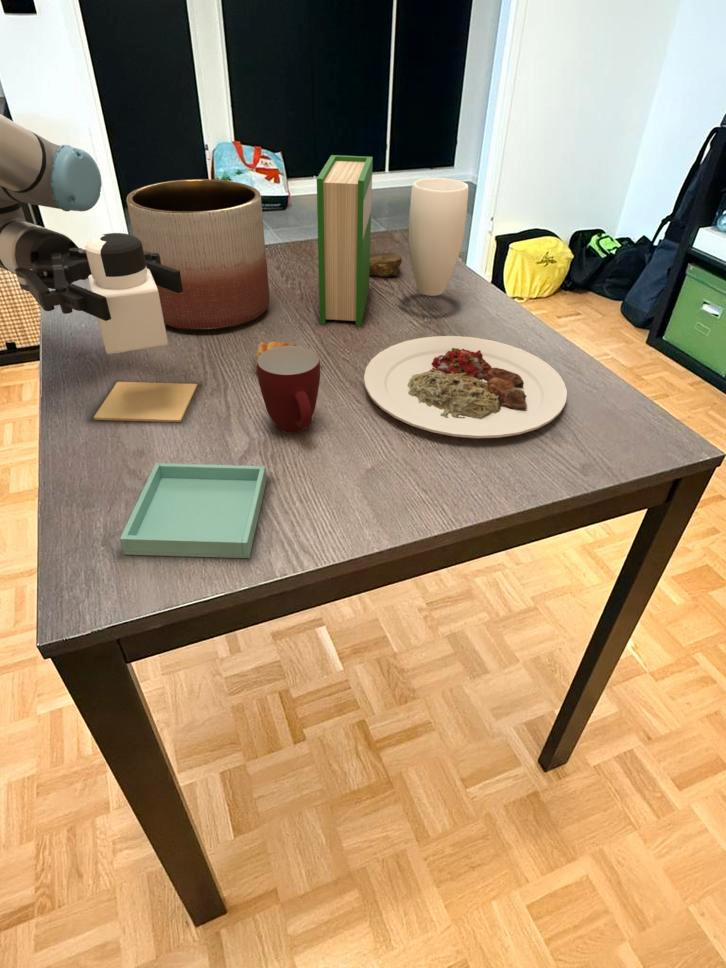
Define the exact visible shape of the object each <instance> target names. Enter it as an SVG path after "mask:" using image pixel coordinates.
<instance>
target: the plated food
mask: <svg viewBox="0 0 726 968" xmlns="http://www.w3.org/2000/svg"><path fill="white" fill-rule="evenodd" d="M363 381H364V386H365V390H366V392H367V394H368V396H369V397H370V399H371V400H372V401H373V402H374V404H376V406H378V407H379V408H380V409H381V410H382V411H383V412H385V413H387V414H388V415H389V416H391V417H393V418H394V419H396V420H399V421H400V422H402V423H405V424H407V425H409V426H411V427H414V428H418V429H421V430H425V431H428V432H430V433H433V434H439V435H445V436H451V437H455V438H469V439H493V438H495V439H497V438H498V439H499V438H505V437H512V436H518V435H522V434H525V433H529V432H532V431H535V430H538V429H540V428H542V427H544V426H545V425H547V424H549V423H551V422H553V420H555V418H557V417H558V416H559V415H560V414H561V413H562V411H563V409H564V407H565V405H566V403H567V397H568V390H567V388H566V384H565V382H564V380H563V378H562V377H561V375H560V374H559V372H558V371H557V370H555V369H554V368H553V367H552V366H551V365H550V364H549V363H548V362H546V361H544V360H543V359H541V358H540V357H538V356H537V355H534V354H533V353H530V352H528V351H526V350H524V349H521V348H519V347H516V346H514V345H511V344H508V343H504V342H501V341H496V340H492V339H487V338H481V337H480V338H479V337H472V336H460V335H435V336H426V337H425V336H424V337H419V338H413V339H409V340H404V341H402V342H398V343H397V344H394V345H391V346H389V347H387V348H385V349H383V350H381V351H380V352H378V353H377V354H376V355H375V356H374V357H372V359H371V360H370V361H369V362H368V364H367V366H366V367H365V370H364V375H363Z"/></svg>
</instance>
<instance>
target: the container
mask: <svg viewBox="0 0 726 968" xmlns="http://www.w3.org/2000/svg"><path fill="white" fill-rule="evenodd" d="M84 250H86V254H87V258H88V262H89V266H90V270H91V273H92V275H89V276H88V278H87V280H88V285H89V291H92V292H94V293H97V294H99V295H102V296H104V297H106V299H107V303H108V307H109V312H110V316H111V319H110V320H108V321H104V320H102V319H100V318H98V317H96V320H97V323H98V327H99V332H100V336H101V339H102V343H103V347H104V350H105V353H106V354H107V355H112V354H119V353H125V352H126V353H127V352H132V351H140V350H146V349H152V348H153V349H154V348H160V347H166V346H168V344H169V341H168V335H167V331H166V330H167V329H166V325H165V324H164V319H163V314H162V308H161V303H160V298H159V293H158V289H157V286H156V284H155V281H154V279H153V277H152V274H151V272H150V270H149V269H147V267H146V262H145V257H144V251H143V246H142V242H141V241H140V240H139V239H138V238H137V237H135V236H133V234H129V233H123V232H111V233H110V232H109V233H104V234H100V235H96V236H94V237H93V238H91V239H89V240H88V241H87V242H86V243H85V245H84Z"/></svg>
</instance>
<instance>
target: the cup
mask: <svg viewBox="0 0 726 968" xmlns="http://www.w3.org/2000/svg"><path fill="white" fill-rule="evenodd" d="M468 200H469V184H468V183H466V182H465V181H462V180H458V179H453V178H445V177H425V178H420V179H417V180H415V181H413V182H412V185H411V194H410V205H409V214H408V248H409V257H410V264H411V270H412V274H413V277H414V281H415V285H416V288H417V291H418V292H419V293H420V294H421V295H425V296H432V297H433V296H434V297H435V296H439V295H442V294H443V293H444V292H445V290H446V288H447V286H448V284H449V282H450V280H451V278H452V275H453V273H454V271H455V268H456V265H457V262H458V259H459V256H460V253H461V249H462V247H463V246H462V245H463V241H464V235H465V227H466V222H467V213H468V212H467V211H468Z"/></svg>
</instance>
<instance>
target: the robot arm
mask: <svg viewBox="0 0 726 968" xmlns="http://www.w3.org/2000/svg"><path fill="white" fill-rule="evenodd" d="M102 184H103V183H102V175H101V172H100V168H99V167H98V164H97V162H96V161H95V160H94V158H93V157H92V156H91V154H90V153H88V152H87V151H86V150H84V149H81V148H77V147H74V146H71V145H69V144H61V145H59V144H56V143H53V142H51V141H49V140H47V139H45V138H44V137H42V136H40V135H39V134H37V133H36V132H33V131H31V130H30V129H27V128H25V127H24V126H22V125H20V124H18V123H17V122H15V121H14V120H12V119H10V118H8V117H6V116H5V115H3V114H1V113H0V269H2V270H5V271H7V272H9V273H12V274H14V275H16V278H17V281H18V284H19V287H20V289H21V290H23V291H26V292H28V293H30V295H31V296H32V297H33V299H34V300H35V301H36V302H37V303H38V305H39V306H40V307H41V309H42V310H43V311H45V312H51V311H54V310H55V306H56V307H57V306H60V310H61V312H62V314H63V315H67V314H71V313H73V310H74V311H78V312H84V313H85V314H89V315H90V316H93V317H95V318H97V317H98V318H100V319H102V320H104V321H108V320H110V319H111V316H110V312H109V307H108V303H107V299H106V297H104V296H102V295H99V294H97V293H94V292H92V291H90V289H87V288H84V287H81V286H80V285H76V284H74V282H78V281H80V280H81V281H86V280H88V276H89V275H92V273H91V270H90V266H89V262H88V258H87V254H86V250H85V249H83V248H82V247H79V246H78V245H77V244H76V243H75V242H74V241H73V239H71V238H70V237H68V236H67V235H65V234H63V233H60V232H58V231H54V230H53V229H49V228H47V227H43V226H41V225H37V224H34V223H32V222H29V221H26V217H25V214H24V210H23V207H22V204H26V205H27V204H29V205H33V206H34V205H35V206H40V207H46V208H52V209H58V210H62V211H64V212H70V211H71V212H86V211H89V210H91V209H93V208H94V207H95V206H96V204H97V203H98V201H99V199H100V197H101V192H102ZM144 257H145V262H146V267H147V269H149V270H150V272H151V274H152V277H153V279H154V281H155V284H156V285H157V286H160V287H163V288H166V289H168V290H171V291H174V292H177V293H181V292H183V287H182V281H181V275H180V271H178V270H175V269H172V268H169V267H167V266H164V265H161V261H160V255H159V253H154V252H147V251H144ZM50 289H51V290H50Z"/></svg>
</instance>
